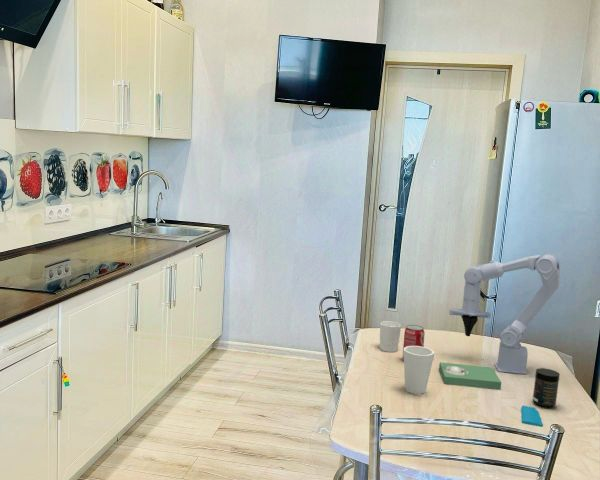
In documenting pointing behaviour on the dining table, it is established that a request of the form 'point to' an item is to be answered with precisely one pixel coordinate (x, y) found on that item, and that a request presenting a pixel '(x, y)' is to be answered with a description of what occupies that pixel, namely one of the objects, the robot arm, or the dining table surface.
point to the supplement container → (545, 388)
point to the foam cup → (417, 368)
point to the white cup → (389, 336)
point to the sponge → (530, 416)
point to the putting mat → (470, 376)
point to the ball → (455, 369)
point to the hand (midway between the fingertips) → (467, 335)
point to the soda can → (413, 336)
